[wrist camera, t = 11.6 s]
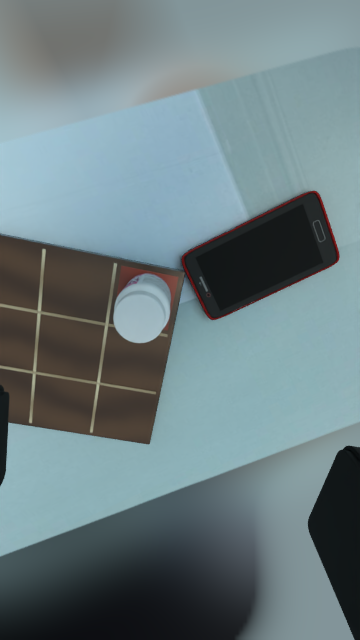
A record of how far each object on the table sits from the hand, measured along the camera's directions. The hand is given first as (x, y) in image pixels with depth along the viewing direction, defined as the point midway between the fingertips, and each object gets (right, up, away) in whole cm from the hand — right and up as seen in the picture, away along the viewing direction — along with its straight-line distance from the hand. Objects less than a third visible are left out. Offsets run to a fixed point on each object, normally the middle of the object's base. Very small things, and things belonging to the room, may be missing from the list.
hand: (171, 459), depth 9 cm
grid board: (-12, +1, +26) cm, 28 cm away
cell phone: (+8, +10, +24) cm, 27 cm away
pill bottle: (-3, +6, +23) cm, 25 cm away
